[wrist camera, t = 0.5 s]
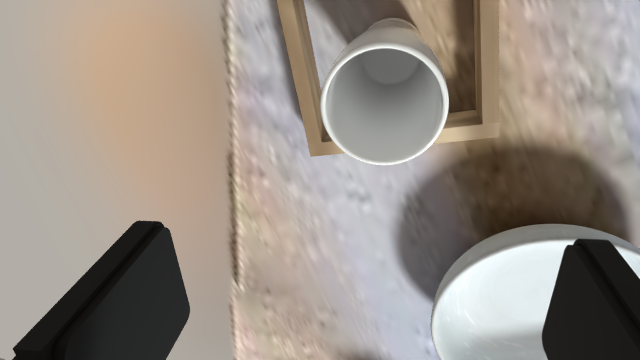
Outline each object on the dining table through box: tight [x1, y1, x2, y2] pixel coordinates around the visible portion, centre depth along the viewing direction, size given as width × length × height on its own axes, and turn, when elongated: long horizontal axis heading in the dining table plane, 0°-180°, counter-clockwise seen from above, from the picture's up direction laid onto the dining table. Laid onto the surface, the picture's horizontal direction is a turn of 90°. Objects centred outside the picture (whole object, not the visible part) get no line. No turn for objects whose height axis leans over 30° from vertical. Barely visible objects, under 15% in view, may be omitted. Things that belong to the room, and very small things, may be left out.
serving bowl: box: [431, 224, 640, 360], centre depth 40 cm, size 21×21×7 cm
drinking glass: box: [320, 18, 449, 165], centre depth 28 cm, size 7×7×15 cm
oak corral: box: [276, 0, 499, 157], centre depth 33 cm, size 15×13×4 cm
